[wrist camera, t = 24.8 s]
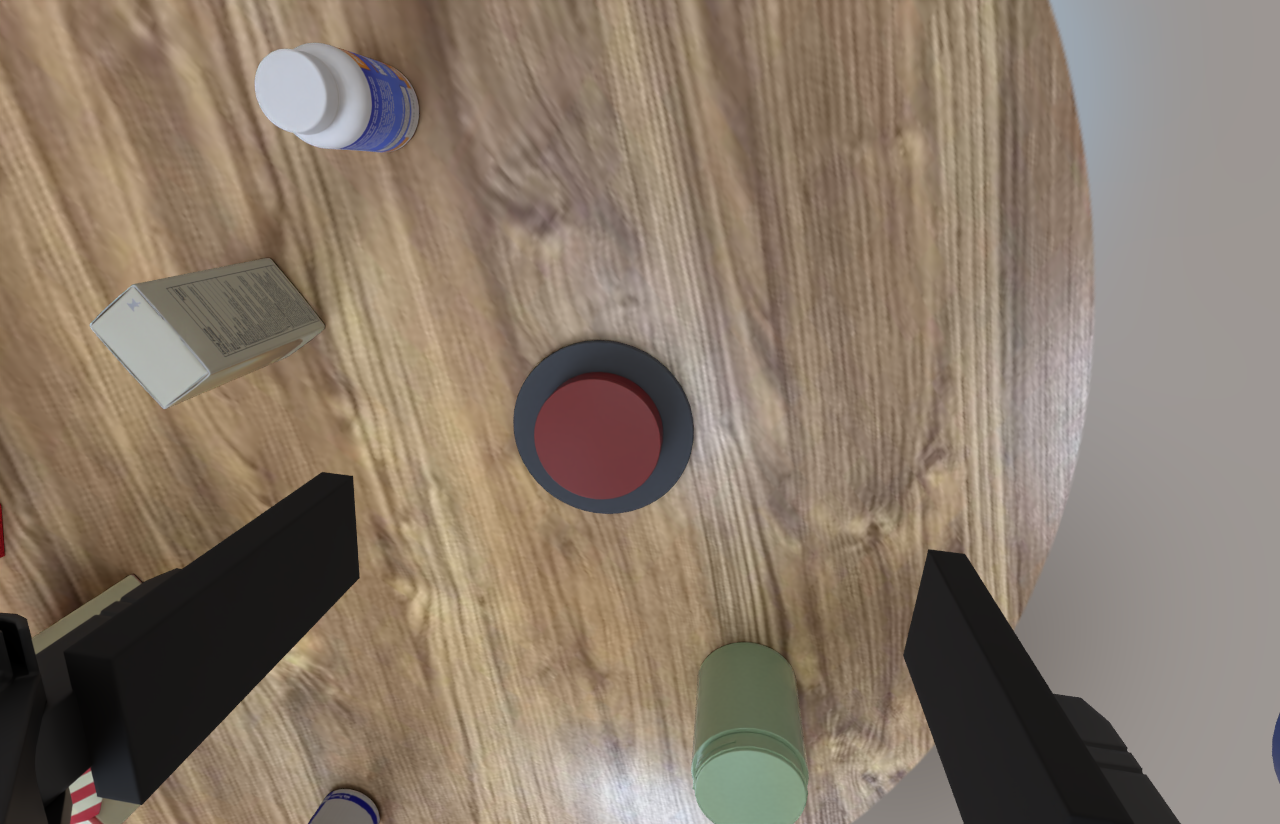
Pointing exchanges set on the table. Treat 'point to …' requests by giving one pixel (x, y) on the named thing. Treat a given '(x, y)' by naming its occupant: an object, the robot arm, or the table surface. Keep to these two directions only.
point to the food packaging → (1, 535)
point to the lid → (599, 435)
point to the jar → (748, 738)
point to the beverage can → (346, 809)
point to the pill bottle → (337, 98)
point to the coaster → (635, 369)
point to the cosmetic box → (205, 328)
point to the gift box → (91, 815)
